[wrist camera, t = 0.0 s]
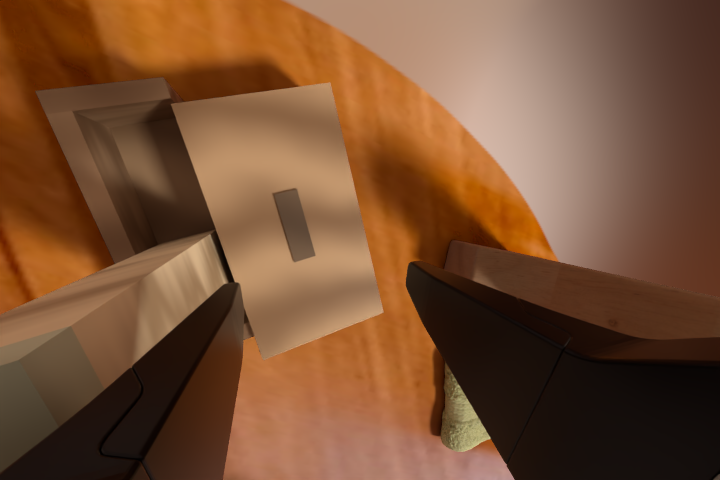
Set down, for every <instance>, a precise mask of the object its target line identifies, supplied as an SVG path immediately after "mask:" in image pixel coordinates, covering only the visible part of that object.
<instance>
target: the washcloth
mask: <svg viewBox="0 0 720 480" xmlns="http://www.w3.org/2000/svg"><path fill="white" fill-rule="evenodd" d="M444 391H445V394H446V396H445V408H444V411H443V413H442V414H443V416H442V419H443V421H442V428H441V440H442V443H443V444H444V445H445V446H446V447H448V448H449V449H452V450H454V451H457V452H464V451H467V450H469V449H471V448H473V447H475V446H477V445H478V444H479V443H481V442H483V441H485V440H488V439H491V438H490V436H489V435H488V433H487V431H486V430H485V428H484V426H483V425H482V423H481V421H480V420H479V418H478V416H477V415H476V413H475V411H474V409H473V408H472V406H471V404H470V403H469V401H468V399H467V398H466V396H465V394H464V393H463V391H462V389H461V387H460V386H459V384H458V382H457V381H456V379H455V377H454V376H453V374H452V372H451V371H450V369H449V367H448V366H447V364H446V362H445V384H444Z"/></svg>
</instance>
